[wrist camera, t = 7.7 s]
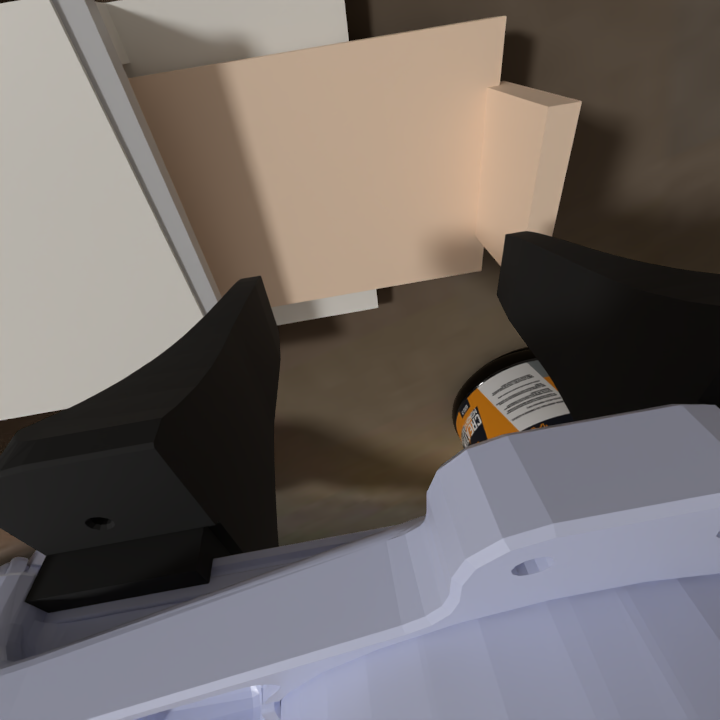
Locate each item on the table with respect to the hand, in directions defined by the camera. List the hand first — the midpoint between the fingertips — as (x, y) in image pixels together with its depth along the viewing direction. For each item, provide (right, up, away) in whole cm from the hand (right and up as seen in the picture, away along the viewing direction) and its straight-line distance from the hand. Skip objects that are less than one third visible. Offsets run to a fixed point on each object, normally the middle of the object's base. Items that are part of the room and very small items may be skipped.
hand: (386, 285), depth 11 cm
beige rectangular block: (-3, +5, +6) cm, 8 cm away
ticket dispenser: (-11, +5, +7) cm, 13 cm away
